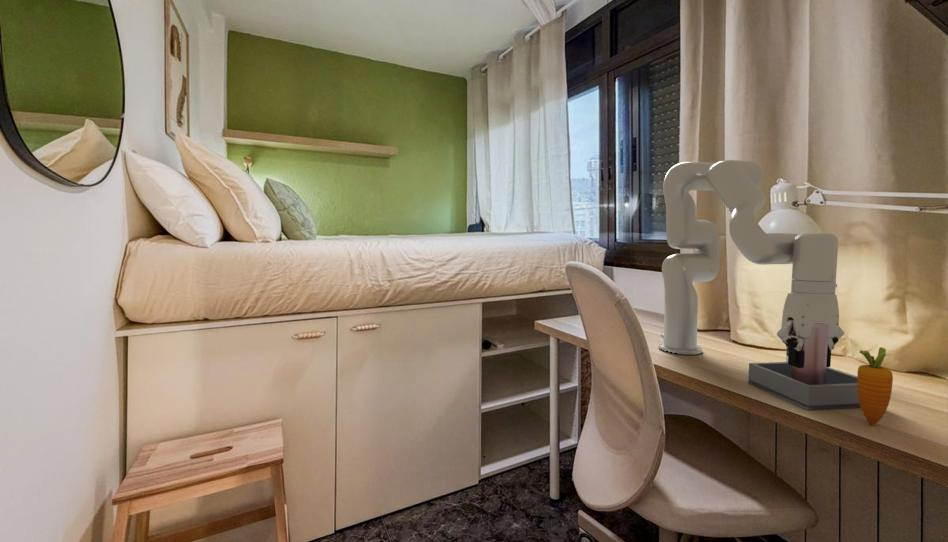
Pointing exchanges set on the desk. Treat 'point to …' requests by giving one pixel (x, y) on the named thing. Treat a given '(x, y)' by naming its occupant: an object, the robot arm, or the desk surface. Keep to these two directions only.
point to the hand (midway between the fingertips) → (808, 365)
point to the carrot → (874, 387)
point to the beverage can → (813, 356)
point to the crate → (806, 387)
